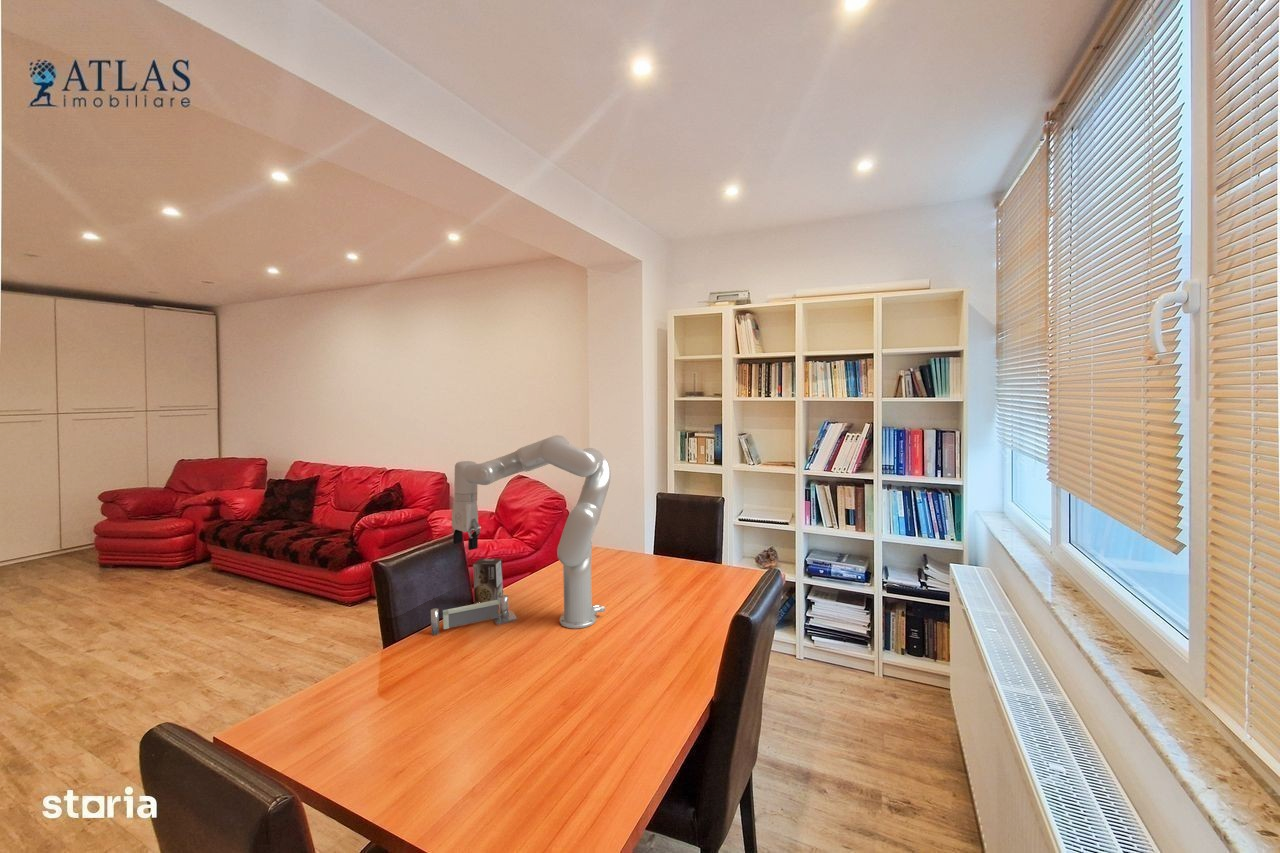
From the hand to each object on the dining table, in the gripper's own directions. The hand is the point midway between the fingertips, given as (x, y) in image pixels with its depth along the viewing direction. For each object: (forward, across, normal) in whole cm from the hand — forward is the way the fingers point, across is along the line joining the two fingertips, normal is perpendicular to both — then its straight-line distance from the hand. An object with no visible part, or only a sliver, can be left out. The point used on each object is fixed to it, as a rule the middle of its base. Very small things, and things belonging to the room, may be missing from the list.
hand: (465, 546), depth 173 cm
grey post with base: (+25, +11, +9) cm, 29 cm away
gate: (+25, +7, -1) cm, 26 cm away
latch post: (+26, +3, -12) cm, 29 cm away
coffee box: (+26, -6, +13) cm, 30 cm away
